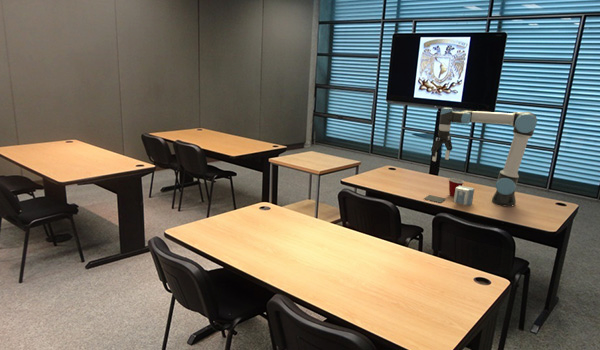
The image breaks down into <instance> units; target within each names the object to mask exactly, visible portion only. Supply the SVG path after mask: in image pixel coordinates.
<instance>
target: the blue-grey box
mask: <svg viewBox="0 0 600 350" xmlns="http://www.w3.org/2000/svg"><path fill="white" fill-rule="evenodd" d="M458 187H461V188H466V189H470V190H469V196H468V202H467V204H466V205H465V206H469V207H470V206H471V205H472V204H473V199H474V194H475V187H469V186H464V185H462V186H460V185H459V186H458ZM464 198H465V192H462V191H459V194H458V200H457V202H456V203H455V204H461V205H463V204H464Z"/></svg>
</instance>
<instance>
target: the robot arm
mask: <svg viewBox="0 0 600 350" xmlns="http://www.w3.org/2000/svg"><path fill="white" fill-rule="evenodd" d="M440 110H441V111H440V115H439V126H438V131H437V136H438V137H435V138H434V142H433V145H432V147H431V148H430V151H431V152H432V157H431V158H432V159H431V161H433V162H436V161H437V157H438V156H437V155H438V152H437V151H438V150H439V148H440V147H441V145H443V144H444V146H445V148H446V149H445V154H444V155H445V156H444V160H447V161H449V158H450V155H451V151H452V150H453V144H452V137H451V136H450V133H451V131H450V130H451V127H452V123H455V124H463V125H469V124H470V123H481V124H494V125H507V126H512V127H513V130H512V133H513V138H512V141H511V145H510V147H509V150H508V154H507V157H506V160H505V164H504V167H503V169H501V170H499V174H498V177H497V179H496V180H497V181H496V182H495V192H494V194H493V196H492V199H491V202H492V203H493V204H495V205H499V206H503V205H506V206H505V207H513V206H512V205H515V206H516V203H517V201H516V195H515V194H516V188H517V183H518V182H519V181H518V180H519V178H520V176H519V169H520V166H521V163H522V160H523V157H524V154H525V151H526V148H527V146H528V145H527V144H528V143H529V142H528V141H529V139H530V138H532V137H533V136H534V132H535V130H536V127H537V124H538V119H537V116H536V115H535V114H534V113H533V112H529V111H524V112H523V111H520V112H519V111H517V112H516V111H515V112H511V113H509V112H508V113H507V112H491V111H477V110H476V111H473V110H467V109H466V110H465V109H464V110H461V111H454V110H453V108H452V107H442V108H441V109H440Z"/></svg>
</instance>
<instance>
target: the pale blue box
mask: <svg viewBox="0 0 600 350" xmlns="http://www.w3.org/2000/svg"><path fill="white" fill-rule="evenodd" d="M469 190H470V189H466V188H461V187H456V189H455V195H454V197H453V203H455V204H457V203H456V202H457V200H458V194H459V191H462V192H465V198H464V204H462V205H463V206H467V205H466V204H467V202H468V196H469Z"/></svg>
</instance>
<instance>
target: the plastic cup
mask: <svg viewBox="0 0 600 350" xmlns="http://www.w3.org/2000/svg"><path fill="white" fill-rule="evenodd" d="M464 183H465V181H464V180H463V179H460V178H457V177H456V178H455V177H449V178H448V184H449V185H448V187H449V188H448V189H449V190H448V191H449V193H448V194H449V196H450V197H453V198H454V195H455V189H456V187H458V186H459V185H460V186H463V184H464Z"/></svg>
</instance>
